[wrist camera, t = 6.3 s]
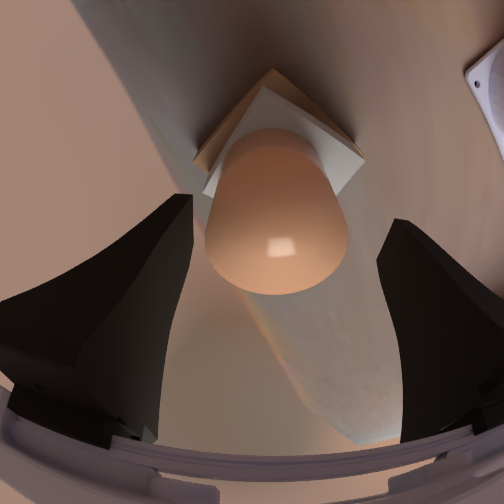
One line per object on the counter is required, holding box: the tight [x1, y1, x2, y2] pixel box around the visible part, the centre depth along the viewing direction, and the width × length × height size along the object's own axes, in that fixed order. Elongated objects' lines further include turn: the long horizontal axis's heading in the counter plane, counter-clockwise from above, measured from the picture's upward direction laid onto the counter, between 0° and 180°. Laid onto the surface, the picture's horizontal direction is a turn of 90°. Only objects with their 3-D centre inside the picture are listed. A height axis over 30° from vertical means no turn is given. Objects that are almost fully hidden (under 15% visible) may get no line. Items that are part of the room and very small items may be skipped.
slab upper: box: [203, 86, 365, 198], centre depth 14 cm, size 6×6×2 cm
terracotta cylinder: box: [205, 128, 348, 295], centre depth 11 cm, size 5×5×5 cm
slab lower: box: [192, 67, 364, 174], centre depth 16 cm, size 6×6×2 cm
